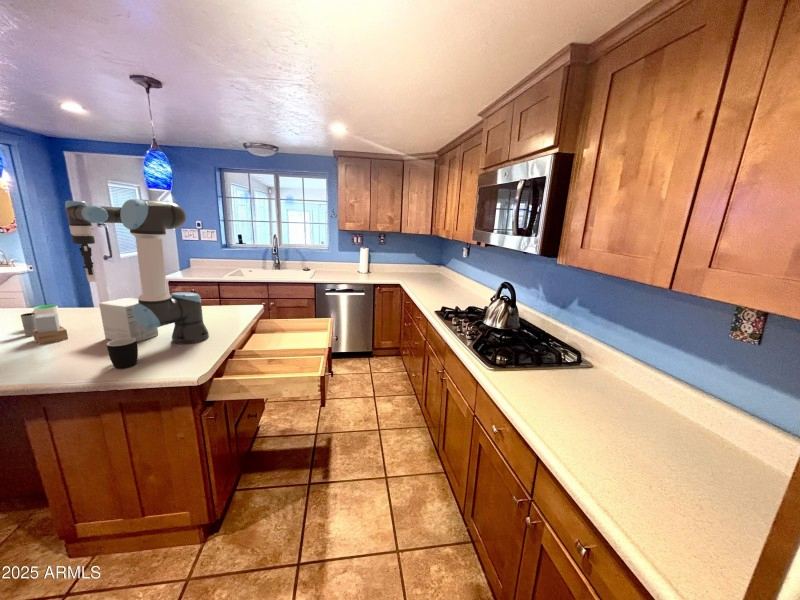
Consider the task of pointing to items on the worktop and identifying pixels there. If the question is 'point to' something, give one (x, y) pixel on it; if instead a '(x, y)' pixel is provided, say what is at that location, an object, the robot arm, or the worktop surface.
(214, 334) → the worktop surface
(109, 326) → the supplement box
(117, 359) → the mug
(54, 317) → the slate block
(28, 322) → the grey tall cylinder
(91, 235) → the robot arm
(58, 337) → the walnut block
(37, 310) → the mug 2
